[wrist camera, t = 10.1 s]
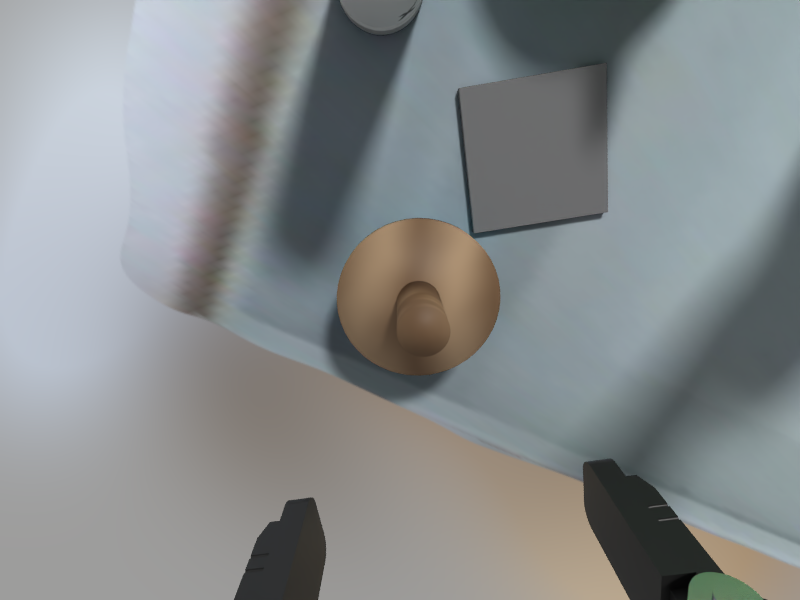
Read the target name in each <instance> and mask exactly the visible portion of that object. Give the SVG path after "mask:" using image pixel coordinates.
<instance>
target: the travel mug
mask: <svg viewBox="0 0 800 600" xmlns="http://www.w3.org/2000/svg"><path fill="white" fill-rule="evenodd" d="M340 3H341V6H342V8H343V10H344V11H345V13H346V15H347V16H348V17H349V19H350V20H351V21H352V22H353V23H354V24H355V25H356V26H357V27H359V28H360V29H362V30H364V31H366V32H368V33H371V34H375V35H387V34H392V33H395V32H397V31H400V30H401V29H403V28H404V27H406V26H407V25H408V24H409V23H410V22H411V21H412V20H413V19H414V17H415V16H416V14H417V12H418V11H419V8H420V6H421V4H422V0H340Z"/></svg>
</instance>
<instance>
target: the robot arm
mask: <svg viewBox="0 0 800 600" xmlns="http://www.w3.org/2000/svg"><path fill="white" fill-rule="evenodd" d="M583 480H584V505H585V511H586V515H587V518H588V521H589V524H590V526H591V528H592V530H593V532H594V534H595V536H596V537H597V539H598V541H599V543H600V545H601V547H602V548H603V550H604V552H605V554H606V556H607V558H608V560H609V561H610V563H611V565H612V567H613V569H614V571H615V573H616V574H617V576H618V578H619V580H620V582H621V584H622V586H623V587H624V589H625V591H626V593H627V595H628V597H629V598H630V600H766V599H763V598H762V597H761V596H760V595H759V594H757V592H756V591H754V590H753V589H752V588H751V587H749V586H748V585H746V584H745V583H743V582H742V581H740V580H738V579H736V578H733V577H731V576H729V575H725V574H724V573H723V572H722V571H721V570H720V568H719V567H718V566H717V565H716V563H715V562H714V561H713V560H712V558H711V557H710V556H709V554H708V553H707V552H706V551H705V550H704V548H703V547H702V546H701V545H700V543H699V542H698V541H697V540H696V538H695V537H694V536H693V535H692V534H691V532H690V531H689V530H688V528H687V527H686V526H685V525H684V523H683V522H682V521H681V520H679V519H678V516H677V515H676V514H675V512H674V511H673V510H672V509H671V507H670V506H669V507H668V505H667V502H666V501H665V500H664V499H663V497H662V496H661V495H660V494H659V492H658V491H657V490H656V489H655V488H654V487H653V486H652V485H650V484H649V483H647V482H646V481H644V480H643V479H641V478H640V477H638V476H637V475H633V476H625V475H624V473H623V472H622V471H621V469H620V468H619V467H618V465H617V464H616V463H615V461H614V460H612V459H603V460H596V461H588V462H584V464H583ZM325 558H326V542H325V536H324V532H323V528H322V525H321V521H320V517H319V514H318V510H317V506H316V503H315V500H314V498H305V499H298V500H289V501H287V502H286V504H285V507H284V510H283V513H282V516H281V519H280V521H275V522H270V523H269V524H268V525H267V527H266V528H265V529H264V531H263V532H262V533H261V534H260V536H259V537H258V538H257V541H256V543H255V546H254V549H253V551H252V554H251V559H249V562H248V564H247V567H246V569H245V570H246V572H245V573H244V575H243V578H242V580H241V583H240V585H239V588H238V590H237V593H236V596H235V598H234V600H318V597H319V591H320V586H321V580H322V575H323V570H324V565H325Z"/></svg>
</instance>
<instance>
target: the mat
mask: <svg viewBox="0 0 800 600" xmlns="http://www.w3.org/2000/svg"><path fill="white" fill-rule="evenodd" d="M458 95H459V104H460V114H461V123H462V133H463V142H464V152H465V161H466V171H467V180H468V190H469V199H470V209H471V218H472V228H473V233H479V232H486V231H492V230H498V229H504V228H511V227H517V226H523V225H530V224H536V223H542V222H548V221H555V220H561V219H567V218H574V217H580V216H586V215H593V214H599V213H605V212H608V169H607V63H602V64H597V65H591V66H585V67H579V68H574V69H568V70H562V71H556V72H550V73H545V74H539V75H533V76H527V77H521V78H516V79H510V80H504V81H498V82H492V83H487V84H481V85H475V86H469V87H464V88H459V89H458Z"/></svg>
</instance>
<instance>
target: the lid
mask: <svg viewBox="0 0 800 600" xmlns="http://www.w3.org/2000/svg"><path fill="white" fill-rule="evenodd" d="M499 306H500V286H499V280H498V276H497V273H496V270H495V267H494V265H493V263H492V261H491V259H490V258H489V256H488V255H487V253H486V252H485V250H484V249H483V248H482V247H481V246H480V245H479V243H478V242H477V241H475V240H474V239H473V238H472V237H471V236H470V235H468V234H467V233H466V232H464V231H462V230H461V229H459V228H457V227H455V226H453V225H451V224H449V223H446V222H442V221H439V220H434V219H428V218H412V219H404V220H400V221H395V222H393V223H390V224H387V225H385V226H383V227H381V228H379V229H377V230H375V231H374V232H373V233H371V234H370V235H368V236H367V237H366V238H365V239H364V240H363V241H362V242H361V243H359V244H358V246H357V247H356V248H355V249H354V251H353V252H352V253H351V255H350V257H349V258H348V260H347V262H346V263H345V266H344V268H343V270H342V273H341V276H340V279H339V283H338V290H337V308H338V314H339V318H340V321H341V325H342V327H343V329H344V331H345V333H346V335H347V337H348V338H349V340H350V342H351V343H352V344H353V345H354V347H355V348H356V349H357V350H358V351H359V352H360V353H361V354H362V355H363V356H364V357H366V358H367V359H368V360H370V361H371V362H372V363H374V364H376V365H378V366H380V367H382V368H384V369H386V370H389V371H392V372H396V373H399V374H405V375H430V374H435V373H440V372H443V371H446V370H449V369H451V368H453V367H455V366H457V365H459V364H461V363H462V362H464V361H466V360H467V359H468V358H470V357H471V356H472V355H473V354H474V353H475V352H476V351H477V350H478V349H479V348H480V347H481V346H482V345H483V344H484V342H485V341H486V340H487V338H488V337H489V335H490V333H491V331H492V330H493V327H494V325H495V322H496V320H497V316H498V312H499Z"/></svg>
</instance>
